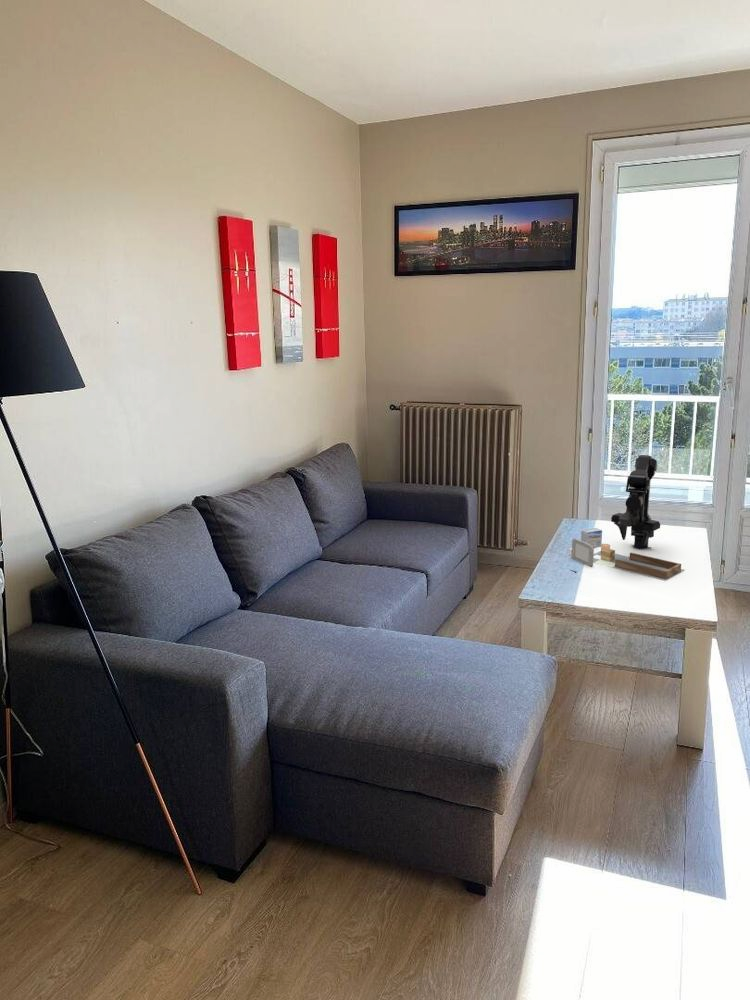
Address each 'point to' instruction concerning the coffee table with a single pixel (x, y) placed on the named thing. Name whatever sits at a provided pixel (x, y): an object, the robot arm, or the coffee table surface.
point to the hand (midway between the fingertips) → (633, 542)
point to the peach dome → (605, 546)
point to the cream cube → (570, 551)
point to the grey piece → (582, 552)
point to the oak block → (607, 554)
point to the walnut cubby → (671, 566)
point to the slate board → (626, 558)
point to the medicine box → (592, 537)
